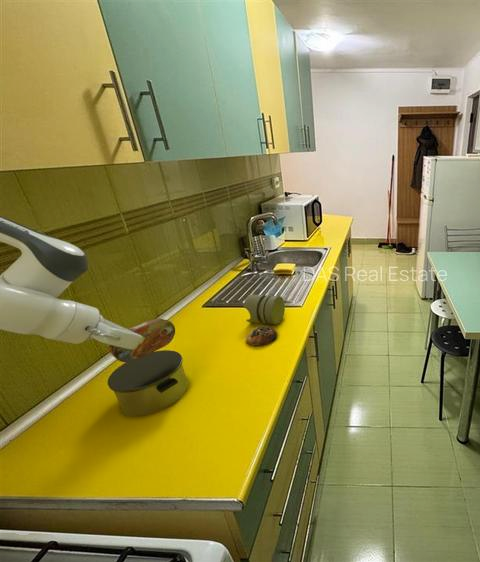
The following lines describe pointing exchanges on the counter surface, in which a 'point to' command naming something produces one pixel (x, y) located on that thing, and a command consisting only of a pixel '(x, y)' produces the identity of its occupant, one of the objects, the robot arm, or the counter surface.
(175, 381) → the stockpot
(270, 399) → the counter surface
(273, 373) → the counter surface
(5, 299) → the robot arm
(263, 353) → the counter surface
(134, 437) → the counter surface
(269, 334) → the bread roll
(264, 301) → the piston
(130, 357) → the tin
